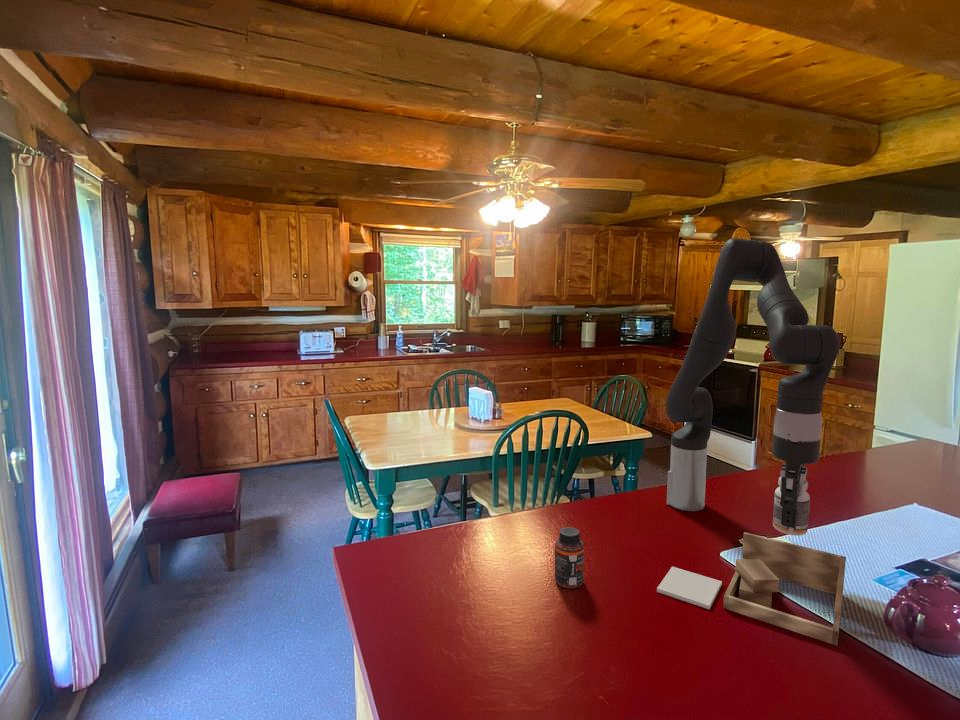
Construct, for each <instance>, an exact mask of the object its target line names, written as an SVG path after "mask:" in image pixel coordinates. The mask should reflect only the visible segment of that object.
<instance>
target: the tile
mask: <svg viewBox="0 0 960 720" xmlns="http://www.w3.org/2000/svg"><path fill="white" fill-rule="evenodd" d="M722 585H723V581H722V580H718V579H715V578H712V577H710V576H709V577H708V576H705V575H703V574H700V573H695V572H692V571H689V570H684V569H682V568H678V567H676V566H671V567H670V569H669V570H668V572H667V573H666V575H665V576H664V577H663V579H662V581H661V582H660V584H658V586H657V587H656V593H659V594H662V595H664V596H668V597H670V598H673V599H677V600H680V601H683V602H686V603H689V604H692V605H695V606H698V607H700V608H704V609H707V610H710V609H711V607H712V605H713V604H714V601H715V599H716V598H717V595H718V593H719V591H720V589H721V588H722Z"/></svg>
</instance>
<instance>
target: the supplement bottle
mask: <svg viewBox="0 0 960 720" xmlns="http://www.w3.org/2000/svg"><path fill="white" fill-rule="evenodd" d="M580 538H581V537H580V530H579V529H578V528H576V527H569V526H568V527H562V528H560V530H559V537H557V539H556V540H555V544H554V581H555V583H556V584H557V585H558V586H560V587H561V588H563V589H568V590H569V589H570V590H574V589H578V588H580V587H582V586H583V584H584V577H585V576H584V569H585V568H584V567H585V563H584V562H585V544H584V541H583V540H582V539H580Z"/></svg>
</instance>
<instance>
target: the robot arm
mask: <svg viewBox="0 0 960 720" xmlns="http://www.w3.org/2000/svg"><path fill="white" fill-rule="evenodd" d="M711 280H712V281H711V282H710V287H709V291H708V293H707V296H706V300H705V303H704V305H703V308H702V311H701V314H700V316H699V317H698V321H697V323H696V326H695V328H694V332H693V334H692V337H691V339H690V343H689V347H688V349H687V351H686V355H685V357H684V359H683V361H682V364H681V366H680V369H679V370H678V373H677V375H676V377H675V379H674V381H673V383H672V385H671V386H670V389H669V391H668V393H667V396H666V400H665V413H666V416H667V418H669V420H670V421H673V422H675V423H685V424H684V425H683V426H682V427H681V428H680V429H678V430H675V431H674V432H673V433H672V434H671V438H670V462H669V463H670V464H669V465H670V466H669V467H670V468H669V469H668V471H667V485H666V486H667V487H666V505H668V506H671V507H672V508H675V509H678V510H681V511H684V512H685V511H686V512H698V511H701V510H704V508H705V502H706V483H707V482H706V481H707V478H706V477H707V462H708V461H707V460H708V459H707V455H708V441H709V440H710V437H711V432H712V431H711V430H712V421H713V412H714V410H713V409H714V404H713V398H712V395H711V394H710V391H709V390H708V389H707V388H705V387H702V386H699V385H700V384H701V382H702V381H703V380H704V379H705V378H706V377H708V376H709V375H710V374H711V373H712V372H713V371H715V370H716V369H717V368H718V366H720V365H721V364H722V363H723V362H724V361H725V359H726V358H727V357H728V355H729V352H730V350H731V348H732V347H733V343H734V341H735V338H736V335H737V326H736V321H735V318H734V315H733V312H732V309H731V306H730V299H729V296H730V289H731V286H732V284H733V282H734V281H740V282H749V283H758V284H759V285H762V288H761V289H760V291H759V292H758V296H757V299H756V307H757V310H758V312H759V315H760V317H761V318H762V320H763V322H764V324H765V325H766V327H767V331H768V337H769V351H770V354H771V356H772V358H773V359H775V361H776V362H778V363H781V364H784V365H805V367H804V369H803V370H802V371H801V372H799V373H796V374H791V375H788V376H785V377H782V378H781V379H780V380H779V382H778V385H777V395H776V397H777V398H776V409H775V415H774V419H773V431H772V445H771V454H772V456H773V457H774V458H776V459H778V460H779V461H782V462H784V463H782V467H780V474H779V475H780V476H781V485H780V486H779V487H780V492H781V502H780V504H781V505H780V506H781V507H782V519H781V524H782V525H783V526H786V527H790V528H794V527H795V524H796V511H797V508H798V498H799V497H800V496H802V490H803V482H804V481H805V480H806V477H807V474H808V467H805V465H811V464H812V465H813V464H815V463H818V462H819V460H820V456H821V455H820V454H821V453H820V452H821V444H822V443H821V441H822V429H823V420H822V410H823V397H824V390H825V387H826V385H827V382H828V379H829V377H830V374H831V371H832V369H833V367H834V365H835V362H836V360H837V357H838V355H839V351H840V338H839V335H838V334H837V331H836V330H835V329H834V328H833V327H832V326H829V325H826V324H808V323H809V319H810V317H809V316H810V315H809V313H808V311H807V310H806V307H804V305H803V304H802V302H801V300H800V299H799V298H798V297H797V295H796V294H795V292H794V291H793V289H792V288H791V286H790V284H789V280H788V278H787V275H786V272H785V269H784V266H783V264H782V261H781V258H780V256H779V253H778V250H777V249H776V248H775V246H774V245H773V244H772V243H770V242H768V241H763V240H755V239H745V238H730V239H728V240H727V241H726V242H725V243H724V244H723V246H722V248H721V249H720V253H719V256H718V258H717V261H716V265H715V269H714V272H713V277H712V279H711ZM780 476H779V477H780ZM798 486H799V490H798ZM786 497H791V498H793V499H794V501H793V502H791V501H787V500H786Z"/></svg>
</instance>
